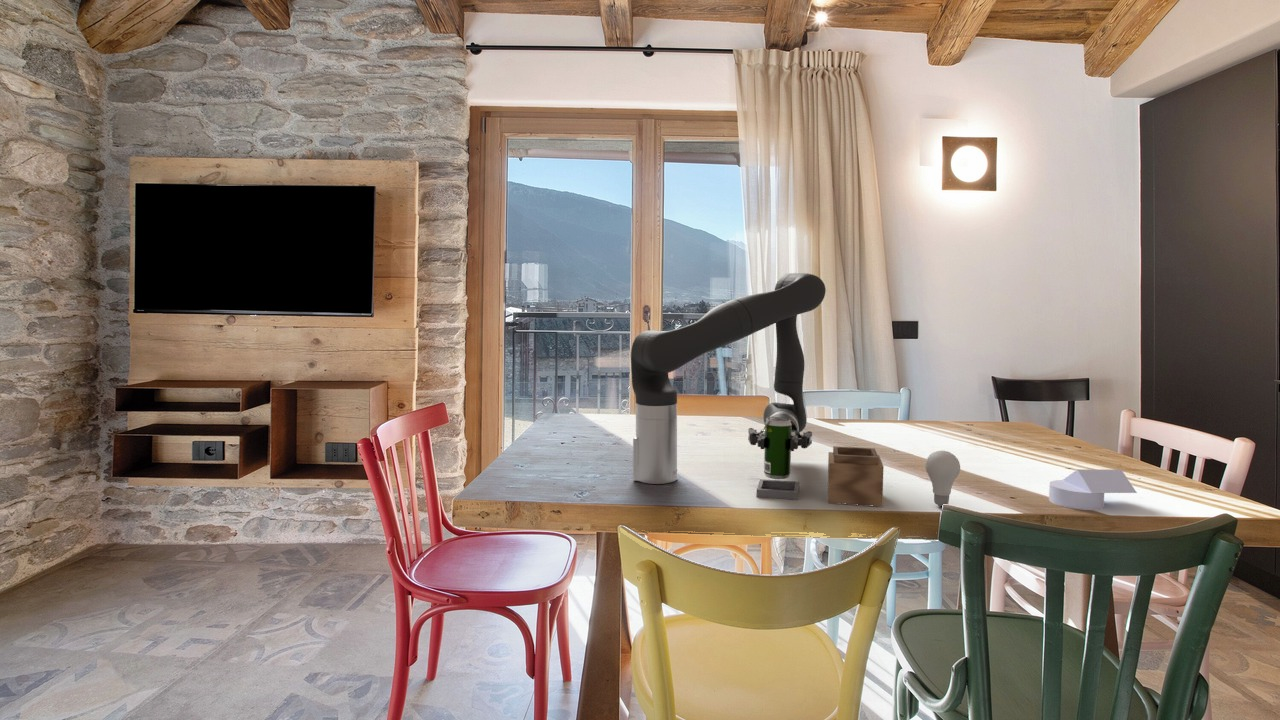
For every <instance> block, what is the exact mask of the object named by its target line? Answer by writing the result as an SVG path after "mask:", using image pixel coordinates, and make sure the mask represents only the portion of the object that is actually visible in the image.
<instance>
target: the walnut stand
mask: <svg viewBox="0 0 1280 720" xmlns="http://www.w3.org/2000/svg"><path fill="white" fill-rule="evenodd" d="M827 456H828V461H827V469H828V470H827V501H828V504H832V503H846V504H858V505H857V506H859V505H873V506H882V507H883V502H884V501H883V496H884V495H883V494H884V464H883V462H882V460H881V457H880V454H878V453H877V450H876V448H875V447H857V446H856V447H855V446H854V447H852V446H837V445H836V446H835V445H833V447H832V452H831V451H829V452H828V455H827ZM846 504H845V505H846ZM873 506H872V507H873Z"/></svg>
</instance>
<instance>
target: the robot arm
mask: <svg viewBox="0 0 1280 720" xmlns="http://www.w3.org/2000/svg"><path fill="white" fill-rule="evenodd" d="M826 289H827V288H826V285H825V283H824V281H823V280H822V278H820V277H818V275H815V274H812V273H807V272H806V273H805V272H804V273H803V272H801V273H799V272H797V273H796V272H793V273H792V272H791V273H785V274H783V275H781V276H780V277H779V278H778V280H777V281H776V283H775V286H774V290H770V291H766V292H760V293H754V294H747V295H745V296H744V295H743V296H740V297H737V298H734V299H731V300H728V301H726V302H723V303H720V304H719V305H717V306H715V307H712V308H711V309H710V310H709V311H708V312H706V313H705V314H704V315H703V316H702V317H701V318H700V319H698V320H697V321H695V322H693V323H691V324H688V325H685V326H683V327H679V328H676V329H671V330H654V329H653V330H645V331H642V332H639V334H637V336H636V337H635V338H634V340H633V342H632V345H631V351H630V367H631V368H630V369H631V386H632V390H633V394H634V396H635V437H633V439H632V454H633V455H632V460H633V461H632V462H633V464H632V466H633V467H632V468H633V469H632V470H633V472H632V475H633V477H632V480H633V482H634V481H635V482H636V481H637V482H640V483H643V484H651V485H652V484H654V485H655V484H656V485H661V484H663V485H664V484H670V483H673V482H675V481H677V480H678V392H677V390H676V388H674V386H673V385H672V383H671V381H670V379H669V373H672V372H674V371H676V370H678V369H680V368H681V367H683V366H684V365H686V364H688V363H690V362H691V361H693V360H695V359H697V358H698V357H700V356H702V355H704V354H706V353H708V352H712V351H714V350H717V349H719V348H722V347H724V346H727V345H730V344H733V343H735V342H737V341H740V340H743V339H744V338H747V337H748V336H750V335H754V334H755V333H756V332H759V331H761V330H764V329H765V328H768V327H770V326H773V325H774V324H775V334H776V361H775V371H774V380H773V389H774V391H775V392H776V393H778V394H780V395H783V396H787V397H789V398H790V399H791V401H792V402H793V403H792V404H791V403H784V402H782V403H781V402H769V403H768V404H767V405H766V406H765V408H764V411H763V423H764V425H765V422H766V421H767V420H766V418H768V417H785V418H789V419H791V421H790V422H791V424H792V429H791V445H790V451H791V452H795V450H798V449H799V447H800V448H801V449H807V448H808V447H809V446H811V445H812V444H813V432H812V431H810V430H809V431H805V432H803V434H801V432H802V431H804V430H805V428H806V425H807V422H808V421H807V420H808V419H807V413H806V408H805V403H804V395H803V394H804V393H803V390H804V389H803V388H804V386H803V385H804V374H805V356H804V351H803V348H802V343H801V342H800V338H799V335H798V329H797V317H798V315H801V314H805V313H808V312H811V311H812V312H813V311H814V310H815V309H817V308H818V307H819V306H820V305H821V304H822V302H823V301H824V299H825V296H826V291H827V290H826ZM747 433H748V435H747V436H748V437H747V438H748V439H747V440H748V442H749V444H750V445H751V446H755V445H757V447H758V448H760V450H765V426H764V427H763V428H762V429H761V430H760V431H757V429H755V428H753V427H749V428H748V432H747Z"/></svg>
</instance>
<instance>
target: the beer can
mask: <svg viewBox="0 0 1280 720" xmlns="http://www.w3.org/2000/svg"><path fill="white" fill-rule="evenodd" d="M766 420H767V421H766V422H765V424H764V427H765V448H764V456H763V457H764V459H763V474H764V475H765V477H766V478H768V479H771V480H785V479H788V478H790V475H791V457H792V454H791V453H792V451H790V445H791V429H792V424H791V422H790V421H791V419H789V418H785V417H768V418H766Z"/></svg>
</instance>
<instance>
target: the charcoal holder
mask: <svg viewBox="0 0 1280 720" xmlns="http://www.w3.org/2000/svg"><path fill="white" fill-rule="evenodd" d="M767 487H768V488H770V489H768V488H767ZM799 491H800V481H793V480H781V479H764V478H763V479H762V478H759V481H758V484H757V487H756V498H767V497H768V498H771V499H781V500H782V499H785V500H794V501H795V500H796V501H798V500H799V493H800V492H799Z"/></svg>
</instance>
